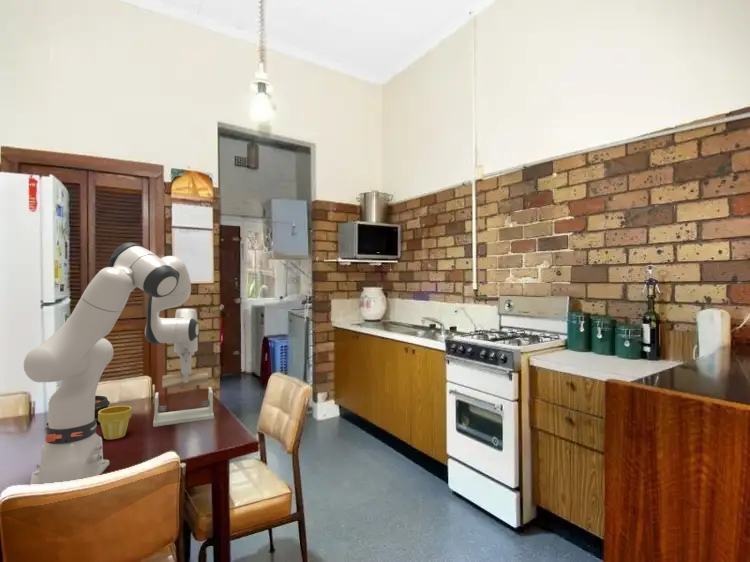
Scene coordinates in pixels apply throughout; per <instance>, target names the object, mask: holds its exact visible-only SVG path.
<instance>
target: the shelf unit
mask: <svg viewBox="0 0 750 562" xmlns="http://www.w3.org/2000/svg"><path fill="white" fill-rule="evenodd" d="M207 391H208V398H207V399H208V400H204V401H203V400H202V401H200V404H201V407H198V408H191V409H190V408H189V409H183V410H176V411H175V410H174V411H168V412H166V411H167V405H159V391H158V392H157V391H156V392H155V395H154V414H153V415H154V416H153V421H152V426H153V427H154V428H155V427H161V426H171V425H175V424H177V425H178V424H182V423H190V422H199V421H206V420H213V419H214V420H215V414H214V392H213V389H212V386H208V390H207Z"/></svg>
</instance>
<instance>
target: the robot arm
mask: <svg viewBox="0 0 750 562" xmlns="http://www.w3.org/2000/svg"><path fill="white" fill-rule="evenodd" d="M191 283H192V282H191V278H190V273H189V271H188V268H187V266H186V264H185V262H184V260H182V259H181V258H179V257H178V256H175V255H166V256H163V257H159V256H158V255H157V254H155V253H154V252H152V251H150V250H149V249H147V248H145V246H143V245H141V244H139V243H136V242H124V243H122V244H120V245H119V246H118V247H116V248H115V250H114V251H113V252H112V254H111V256H110V259H109V261H108V264H107V267H104V268H102V269H100V270H99V271H98V272H97V274H96V275H94V277H93V278H92V279H91V281H90V282H89V283H88V285H87V286H86V288H85V289H84V291H83V292H82V295H81V297H80V298H79V300H78V302H77V303H76V305H75V307H74V309H73V310H72V313H71V314H70V315H69V317H68V318H67V319H66V321H65V322H64V323H63V324H62V325H61V326H60V327H59V328H58V329H57V330H56V331H55V332H54V333H53V334H52V335H51V336H50V337H49V338H48V339H46V340H45V341H44V342H43V343H41V344H40V345H38V346H37V347H35V348H34V349H31V350H30V351H29V352H27V354H26V356H24V357H25V358H24V360H23V369H24V372H25V374H26V376H27V377H28V378H29V379H30V380H31V381H32V382H35V383H54V382H55V383H56V382H61V383H60V385H59V387H58V388H57V390H56V391H55V392H54V393H53V394H52V395H51V396H50V398H49V399H48V400H49V401H48V422H47V423H48V426H47V425H46V426H47V427H46V431H45V442H44V444H42V445H41V456H40V462H38V463H37V464H36V468H37V470H35V471H33V472H32V473H31V477H30V482H29V485H30V484H44V483H54V482H63V481H70V480H76V479H83V478H87V477H92V476H95V475H100V474H101V475H102V474H103V472H104V471H105V470H106V469H107V468H108V467H109V465H110V460H109V459H104V453H103V438H102V437H101V436H100V435H99V434H98V433H97V426H98V425H97V422H96V419H95V396H96V394H97V393H96V392H97V389H98V385H99V383H100V379H101V376H102V375H103V373H104V370H105V369H106V368H107V366H108V365H109V364H110V363H111V361H112V360H113V357H114V355H115V354H114V348H113V345H112V343H111V342H110V341H109V340H108V339H107V338H105V337H107V336H108V335H109V334H110V333H111V332H112V330H113V328H114V326H115V324H116V322H117V321H118V319H119V318H120V315H121V314H122V312H123V310H124V309H125V307H126V305H127V302H128V301H129V298H130V295H131V292H133V291H134V290H135V289H136V288H138V289H140V290H141V291H143V292H144V293H145V294H147V295H148V297H147V302H146V323H145V329H144V335H145V339H146V341H148V342H149V343H151V344H152V345H160V344H161V345H162V344H173V352H174V353H175V354H177V357H179V358H180V373H181V374H183V378H184V383H186V382H188V377H189V374H192V356H195V352H197V351H198V348H199V347H198V345H199V344H198V343H199V341H198V339H199V338H198V336H200V322H198V315H197V314H198V313H197V311H196V309H195V308H192V307H182V308H177V307H179V306H181V305H183V304H185V302H188V300H189V298H190V296H191V293H192V284H191ZM172 308H177V309H176V311H175V316H174V317H166V318H165V317H160V312H161V311H164V310H167V309H172Z"/></svg>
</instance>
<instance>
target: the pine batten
mask: <svg viewBox="0 0 750 562" xmlns="http://www.w3.org/2000/svg"><path fill="white" fill-rule="evenodd" d="M161 380H162V381H161V382H162V383H161V384H162V385H161V387H162V389H163V388H164V389H165V388H176V387H177V388H178V387H188V386H189V387H190V386H198V385H199V386H200V385H201V386H202V385H209V372H208V371H207V372H196V373H194V372H193V373H190V374H189V377H188V382H186V383H184V378H183V374H169V375H162V379H161Z"/></svg>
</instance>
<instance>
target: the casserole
mask: <svg viewBox="0 0 750 562" xmlns="http://www.w3.org/2000/svg"><path fill="white" fill-rule="evenodd" d="M110 404H111V401H110V400H109V399H108V397H107V396H105V395H104V396H103V395H95V419H96V423H97V422H98V412H99V411H100V410H102V409H105V408H108V407H109V405H110ZM98 423H99V422H98ZM46 426H48V422H46Z"/></svg>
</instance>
